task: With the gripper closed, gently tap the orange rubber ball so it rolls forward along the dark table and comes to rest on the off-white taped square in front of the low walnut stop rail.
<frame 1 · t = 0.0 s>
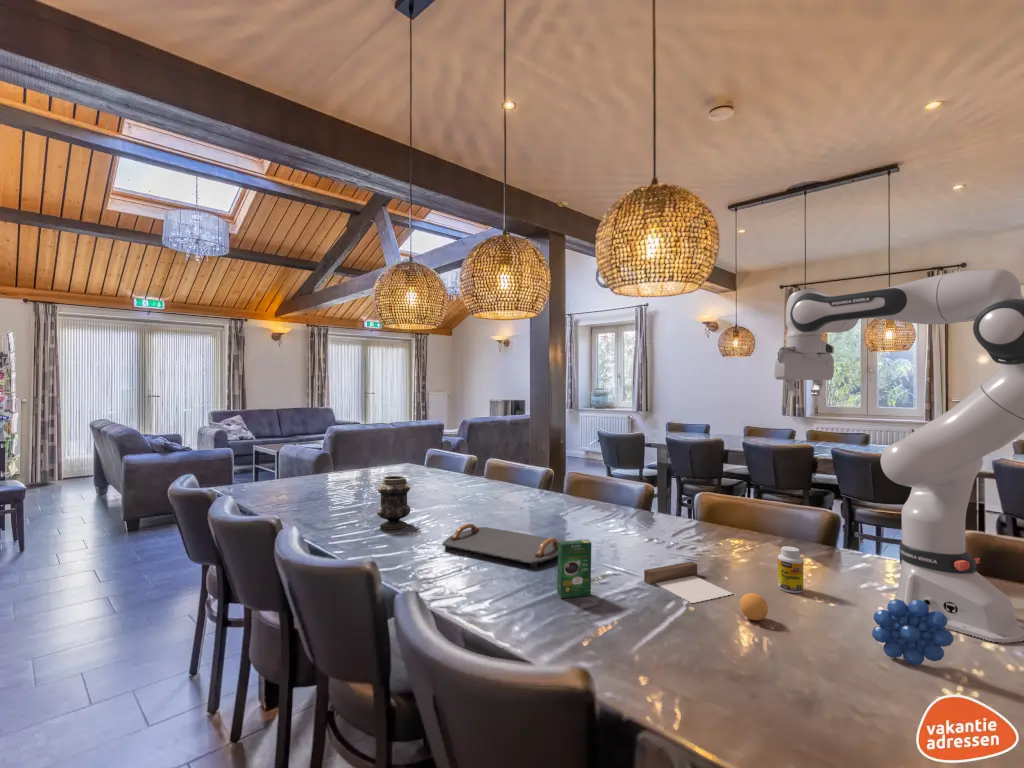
hand: (804, 396, 142), 48 cm above the table, tool pointing down, fingers open, 8 cm apart
blue bumpy cluster: (911, 663, 91), on the table
apothecary jar: (393, 526, 185), on the table
coffee box: (574, 596, 122), on the table
stop rail: (671, 578, 132), on the table
supplement bottle: (790, 590, 125), on the table
serving board: (505, 552, 157), on the table
ball: (753, 606, 109), on the table
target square: (693, 589, 125), on the table
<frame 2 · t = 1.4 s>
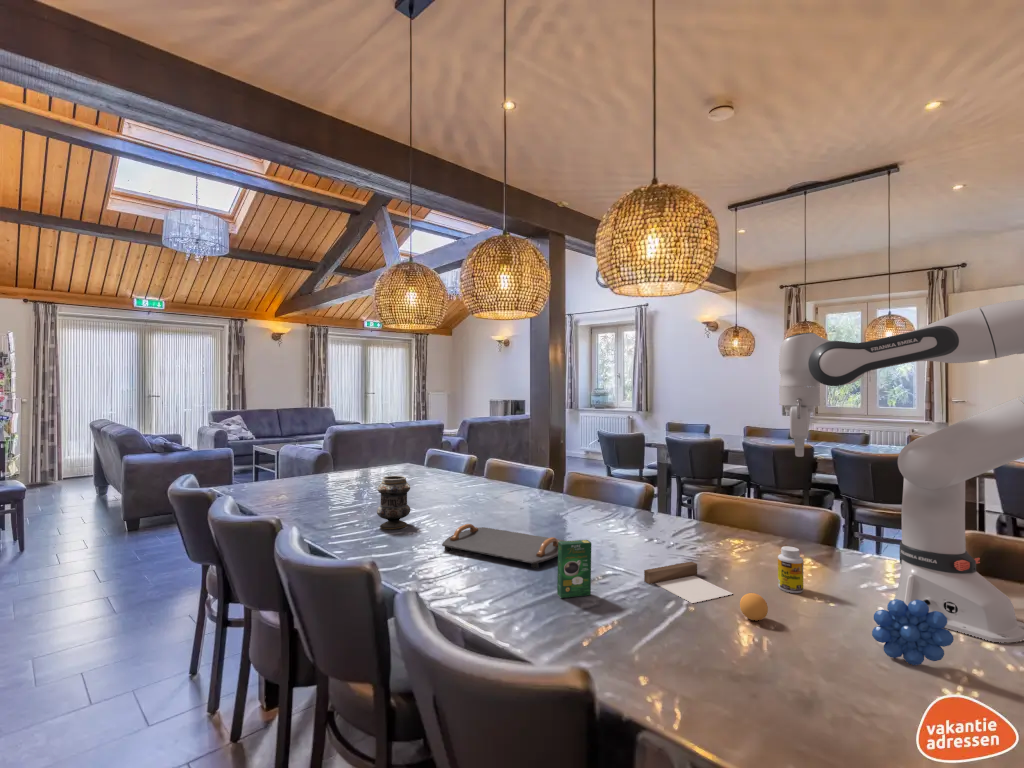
hand: (799, 454, 124), 34 cm above the table, tool pointing down, fingers open, 8 cm apart
nothing on the table moved.
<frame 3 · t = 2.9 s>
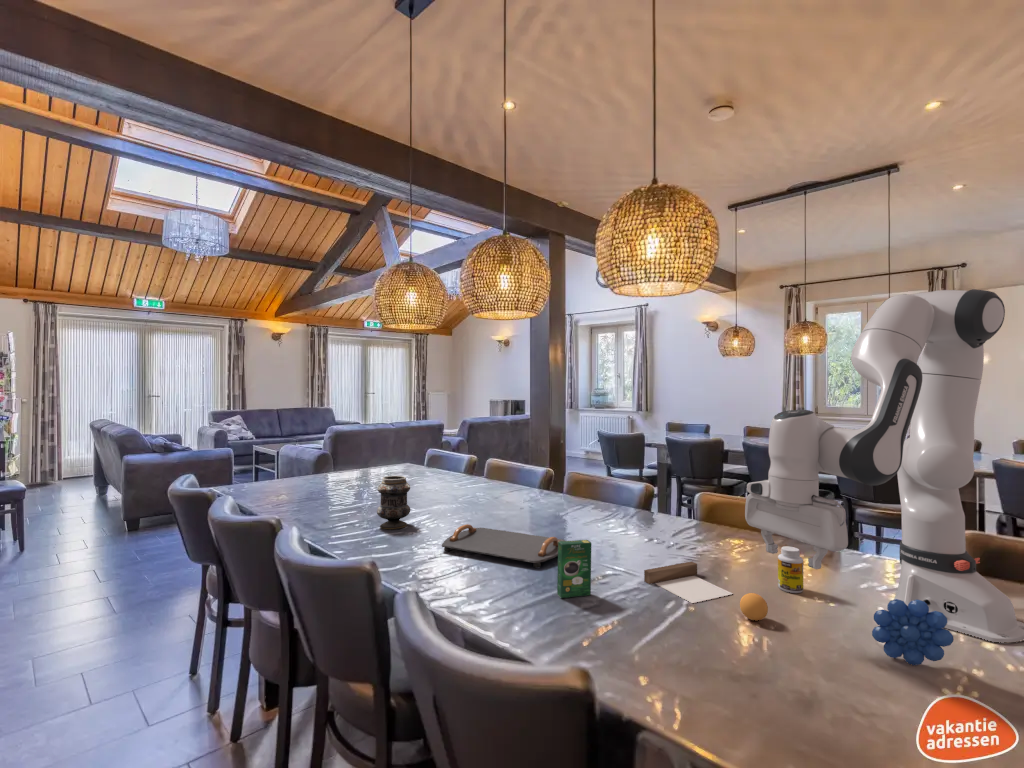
hand: (792, 559, 100), 16 cm above the table, tool pointing down, fingers open, 8 cm apart
nothing on the table moved.
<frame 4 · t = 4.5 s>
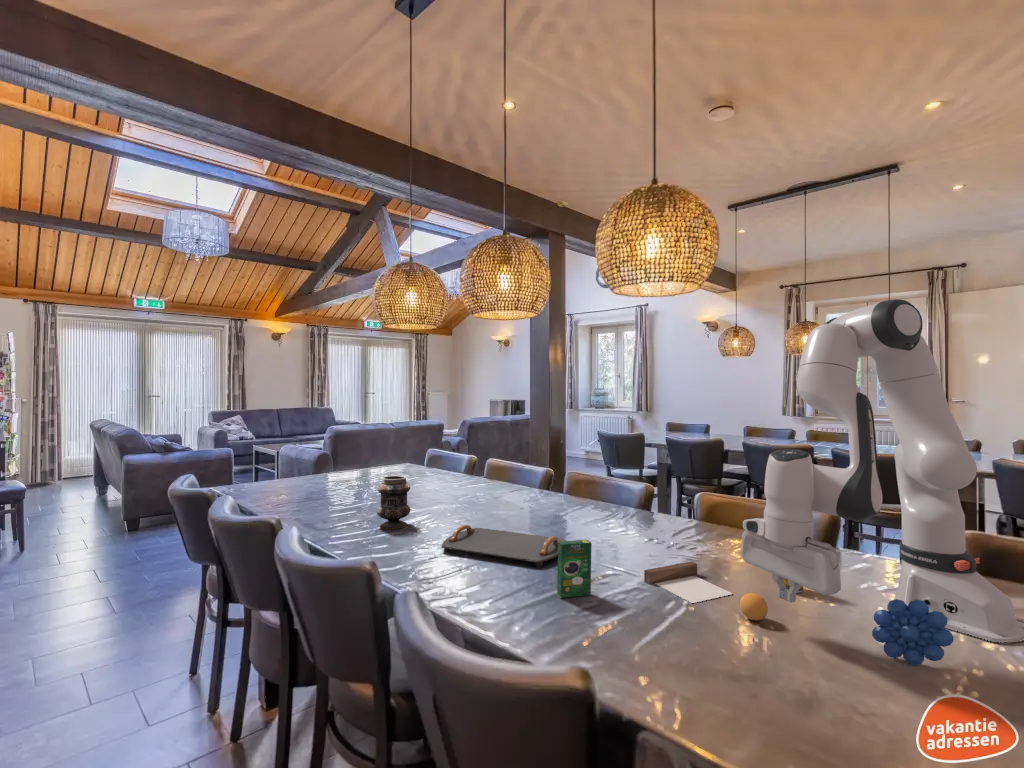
hand: (786, 599, 101), 8 cm above the table, tool pointing down, fingers closed
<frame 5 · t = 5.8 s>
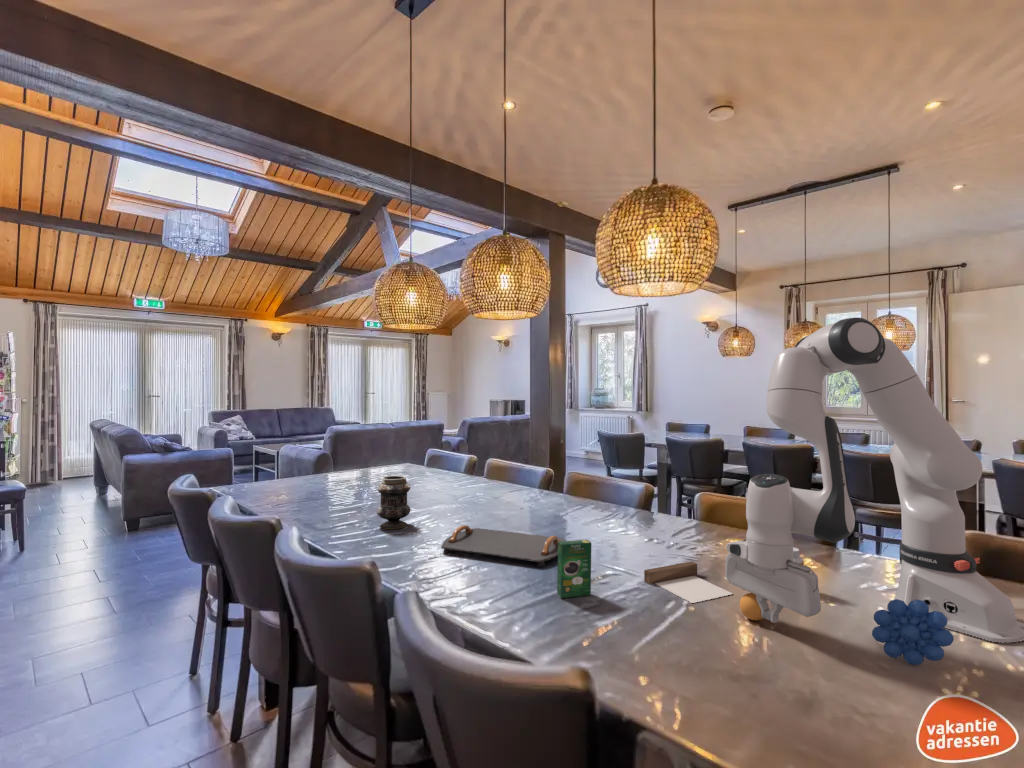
hand: (769, 619, 105), 2 cm above the table, tool pointing down, fingers closed
ball: (753, 606, 109), on the table, touching gripper
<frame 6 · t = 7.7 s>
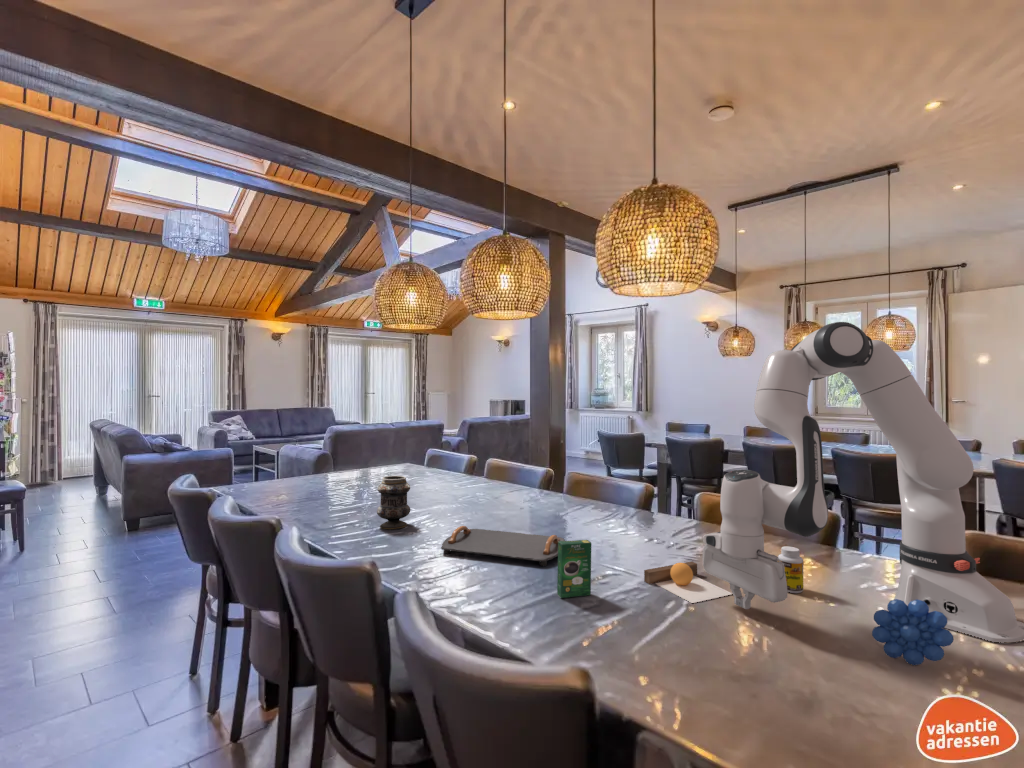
hand: (742, 606, 111), 2 cm above the table, tool pointing down, fingers closed
ball: (681, 573, 128), on the table
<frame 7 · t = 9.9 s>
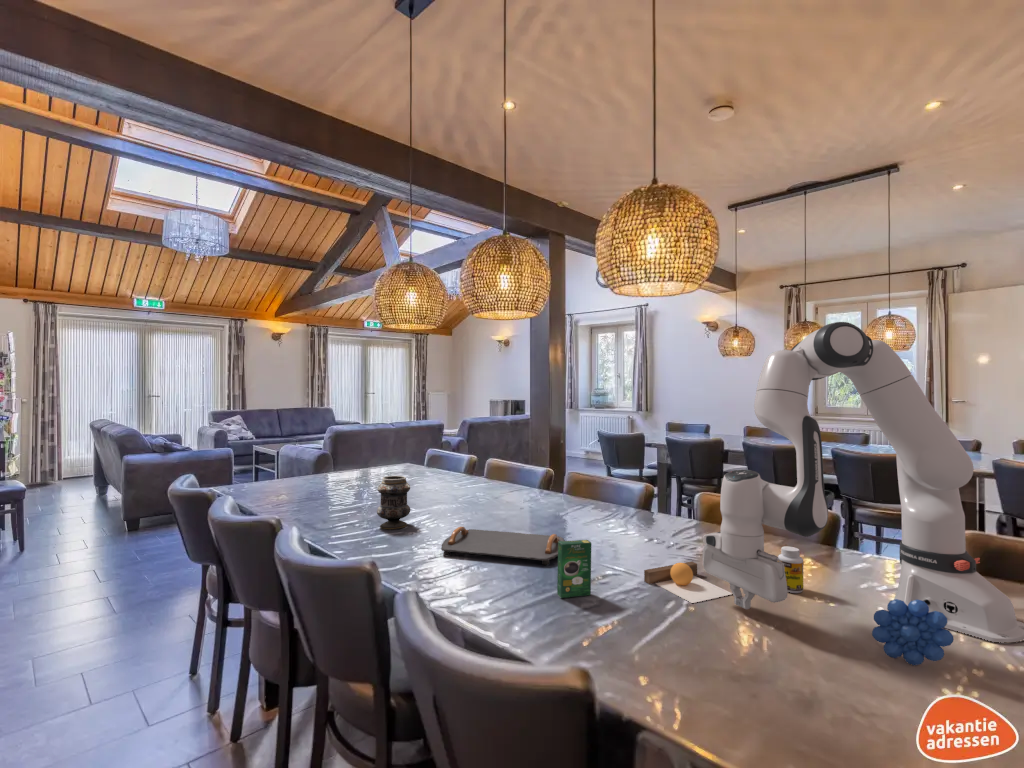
hand: (742, 606, 111), 2 cm above the table, tool pointing down, fingers closed
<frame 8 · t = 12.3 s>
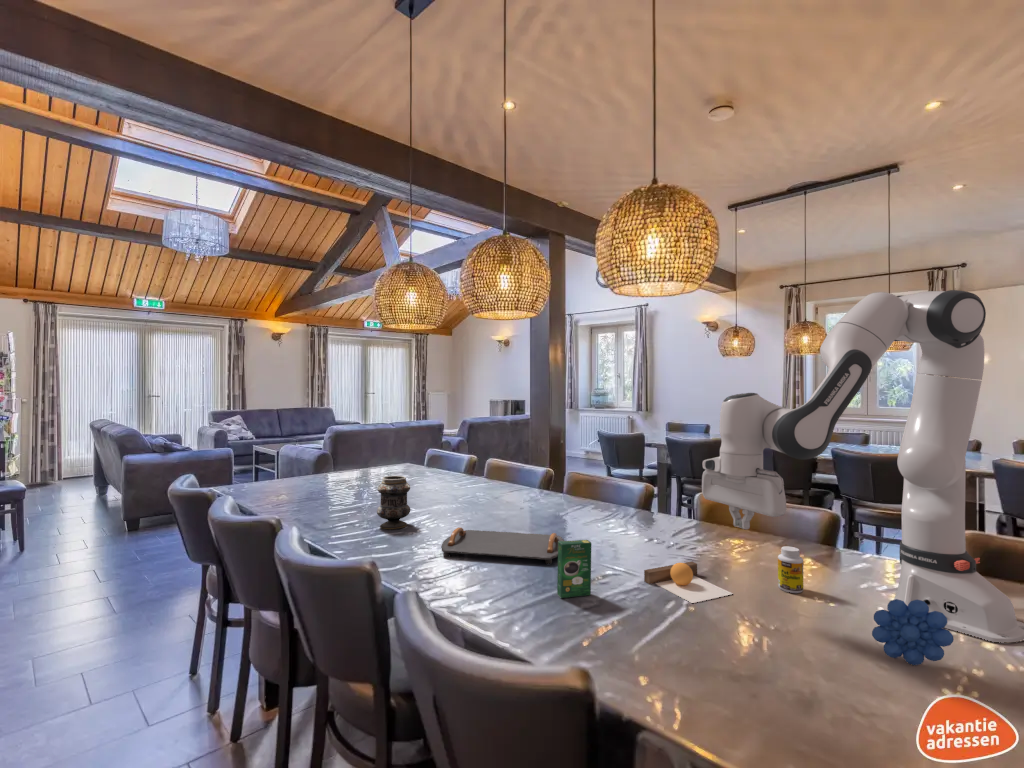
hand: (741, 527, 112), 19 cm above the table, tool pointing down, fingers closed
at the end: ball 3.5 cm from the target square (horizontally); ball at rest at the end (0.0 cm/s); ball moved 21.4 cm from its start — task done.
